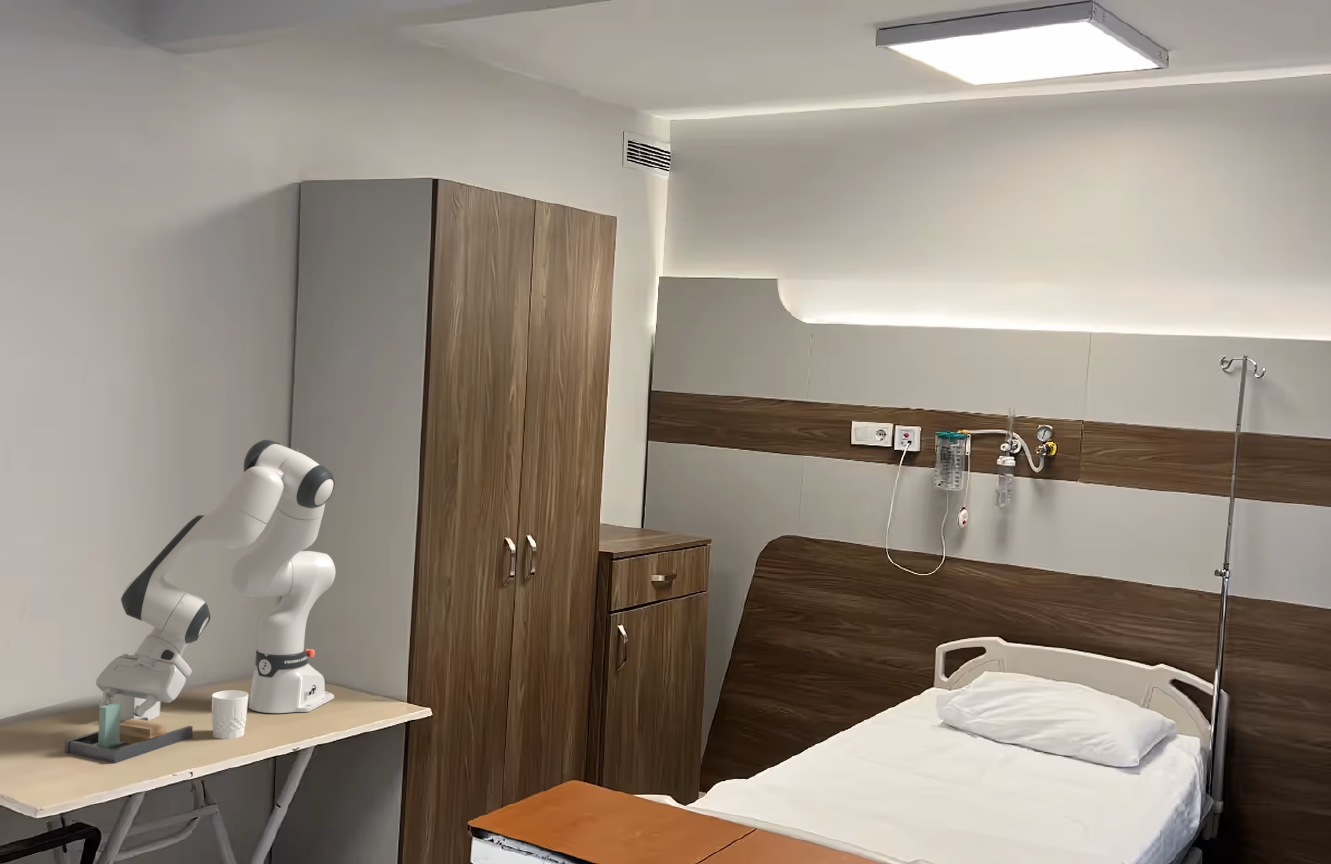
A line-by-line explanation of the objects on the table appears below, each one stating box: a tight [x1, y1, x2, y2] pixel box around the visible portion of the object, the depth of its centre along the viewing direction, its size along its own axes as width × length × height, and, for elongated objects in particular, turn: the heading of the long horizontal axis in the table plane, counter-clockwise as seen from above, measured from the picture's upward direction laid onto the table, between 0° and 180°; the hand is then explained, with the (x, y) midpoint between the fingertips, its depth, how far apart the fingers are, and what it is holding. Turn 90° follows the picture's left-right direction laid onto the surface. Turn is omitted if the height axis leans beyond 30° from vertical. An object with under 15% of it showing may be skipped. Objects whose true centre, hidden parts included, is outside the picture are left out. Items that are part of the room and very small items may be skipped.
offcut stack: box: [119, 719, 168, 745], centre depth 269 cm, size 6×10×4 cm, turn 68°
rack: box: [64, 717, 193, 764], centre depth 267 cm, size 22×14×3 cm, turn 158°
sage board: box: [98, 702, 121, 747], centre depth 261 cm, size 4×2×10 cm, turn 158°
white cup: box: [211, 689, 249, 740], centre depth 278 cm, size 8×8×10 cm
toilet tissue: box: [111, 694, 162, 722], centre depth 289 cm, size 11×12×10 cm
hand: (119, 712), depth 263 cm, fingers open, 8 cm apart
